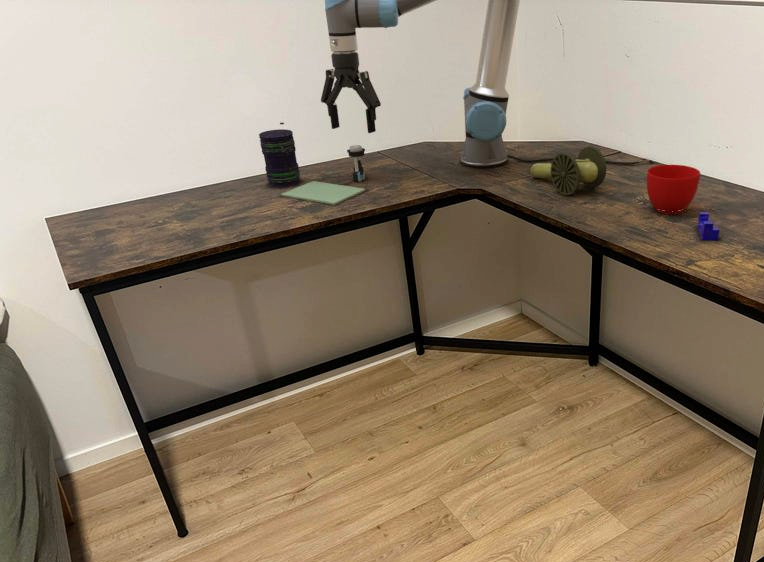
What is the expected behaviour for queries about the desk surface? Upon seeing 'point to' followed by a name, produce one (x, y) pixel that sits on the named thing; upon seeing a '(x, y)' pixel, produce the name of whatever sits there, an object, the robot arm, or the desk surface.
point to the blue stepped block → (707, 227)
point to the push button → (357, 162)
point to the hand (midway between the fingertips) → (353, 130)
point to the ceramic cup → (672, 187)
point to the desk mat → (323, 192)
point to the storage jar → (280, 158)
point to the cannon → (573, 170)
